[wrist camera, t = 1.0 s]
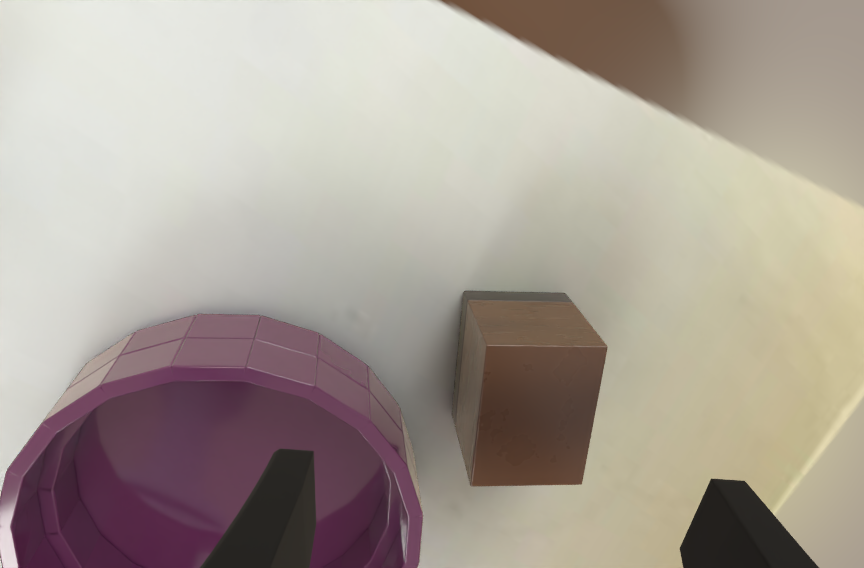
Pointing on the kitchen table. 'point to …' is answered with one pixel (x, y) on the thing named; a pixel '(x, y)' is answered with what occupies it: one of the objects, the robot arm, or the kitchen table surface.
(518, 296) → the eraser
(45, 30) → the kitchen table surface
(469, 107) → the kitchen table surface
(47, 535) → the bowl
